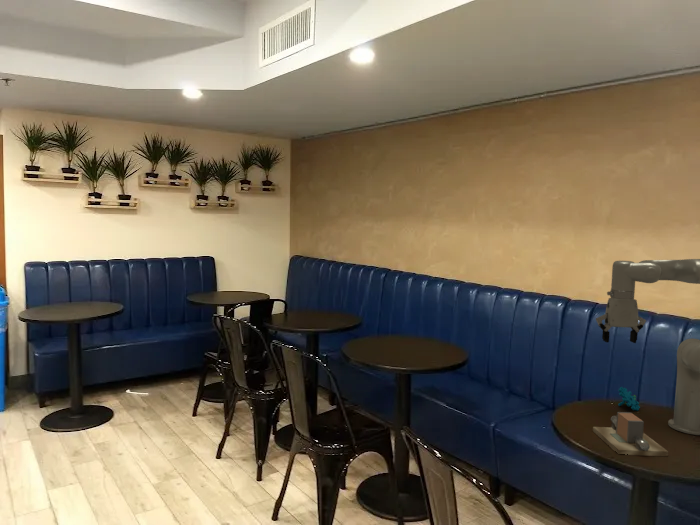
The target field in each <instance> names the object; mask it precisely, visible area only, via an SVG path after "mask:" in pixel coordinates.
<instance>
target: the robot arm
mask: <svg viewBox="0 0 700 525" xmlns="http://www.w3.org/2000/svg"><path fill="white" fill-rule="evenodd" d="M611 271H612V272H611V284H610V286H611V287H610V291H607V292H606V294H607V296H609V298H608V300H607V304H606V308H605V313H604V314H603V315H599V316H598V317H596V318H595V321H596V323H597V326H598V327H599V328H600V329H601V330H602V334H601V335H602V337H601V338H602V341H603V342H605V343H609V342H610V331H609V330H610V329H611V328H612V327H613V328H629V329H631V330H630V335H629V341H630V342H631V343H633V344H636V343H637V340H638V333H639V332H640V331H641V330H642V329H643V328H644V326H645V324H646V322H647V320H646V319H645V318H643V317H641V316H639V306H638V301H637V299H635V294H636V293H635V290H636V282H638V283H645V284H654V283H657V282H658V281H675V282H682V283H687V284H693V285H694V284H695V285H697V284H698V285H700V258H688V259H687V258H686V259H647V260H645V259H644V260H641V261H638V262H634V261H631V260H615V261H613V263H612V270H611ZM603 321H604V324H603ZM673 409H674V411H673V418H670V419H669V420H668V421H667V422H668V423H667V424H668V425H667V426H669V427H670V428H671V429H673V430H676V431H677V432H681V433H684V434H688V435H689V434H690V435H695V436H700V339H698V338H687V339H685V340H683V341H681V342H680V344H679V345H678V347H677V351H676V384H675V397H674V408H673Z"/></svg>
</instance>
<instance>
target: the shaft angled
mask: <svg viewBox="0 0 700 525" xmlns="http://www.w3.org/2000/svg"><path fill="white" fill-rule="evenodd" d="M610 421H611V423H612V422H613V423H614V424H615V426H616V422H617V415H612V416H611V417H610Z"/></svg>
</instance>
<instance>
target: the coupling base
mask: <svg viewBox="0 0 700 525" xmlns="http://www.w3.org/2000/svg"><path fill="white" fill-rule="evenodd" d="M592 432H593V433H594V434H596V436H598V438H600V439H601V441H603V442H604V443H605V444H606V445H607V446H608V445H609V447H610V449H611V450H613V451H614V452H615V451H616V452H617V453H618V454H625V455H624V456H646V457H647V456H650V457H651V456H652V457H653V456H654V457H668V456H669V451H668V450H667V449H666V448H664V447H663V446H662V445H661V444H659V443H657V442H656V441H655V440H654V439H653V438H651V437H649V435H647V434H646V433H645V432H643V440H644V441H645V442H646V443H648V444H649V446H650V447H649V449H648V450H646V451H644V450H643V449H641V448H640V445H639V444H638V443H637V442H636V444H635V443H628V442H626V441H625V440H624V439H623V438H622V437H620V436H619V435H618V434H617V433H616V426H615V424H614V423H613V422H612V421H611V426H610V427H607V426H606V427H605V426H593V427H592ZM616 452H615V453H616ZM617 453H616V454H617ZM618 454H617V455H618ZM627 454H628V455H627Z"/></svg>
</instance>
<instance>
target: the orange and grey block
mask: <svg viewBox="0 0 700 525" xmlns="http://www.w3.org/2000/svg"><path fill="white" fill-rule="evenodd" d="M616 416H617V422H616V433H617V434H618V435H619V436H620V437H622V438H623V439H624V440H625V441H626V442H628V443H634V442H633V438H634V437H636V436H639V437H640V438H641V439H643V433H644V426H645V425H644V424H645V423H644V422H645V421H643V420H642V419H641V418H639V417H638V416H637V415H635V414H633V412H629V411H628V412H627V411H626V412H625V411H624V412H623V411H622V412H621V411H617V412H616Z"/></svg>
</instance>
